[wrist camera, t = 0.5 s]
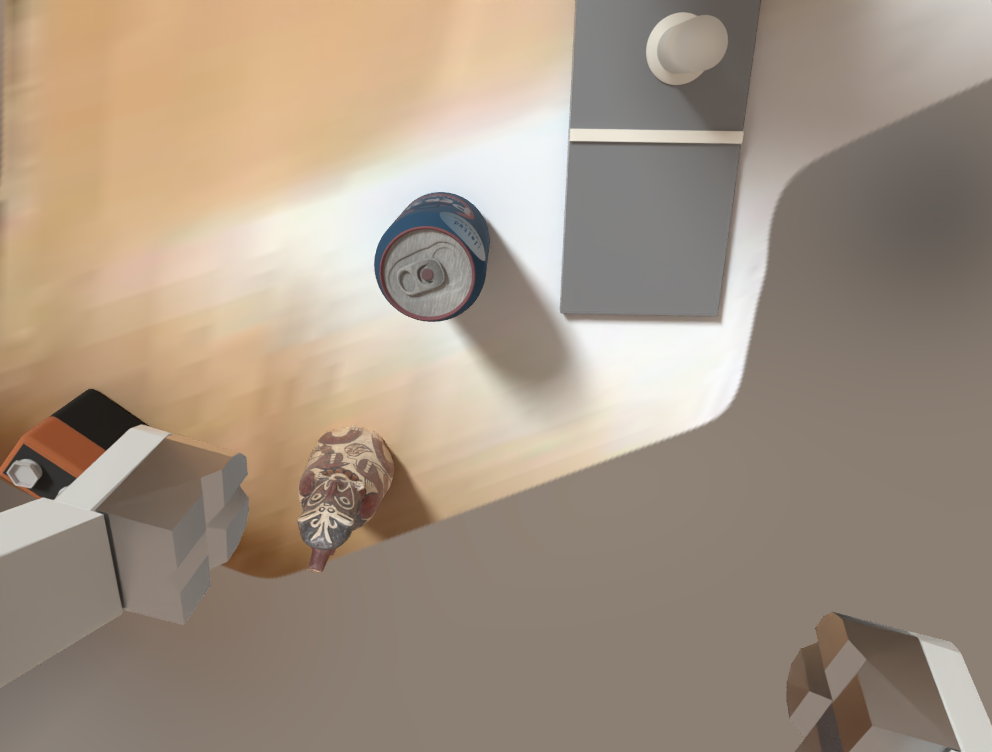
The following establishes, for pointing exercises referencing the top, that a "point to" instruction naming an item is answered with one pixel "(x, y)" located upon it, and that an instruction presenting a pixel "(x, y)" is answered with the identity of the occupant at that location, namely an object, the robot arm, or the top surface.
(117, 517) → the robot arm
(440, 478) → the top surface
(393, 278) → the soda can
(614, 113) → the board
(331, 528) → the figurine
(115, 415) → the battery
